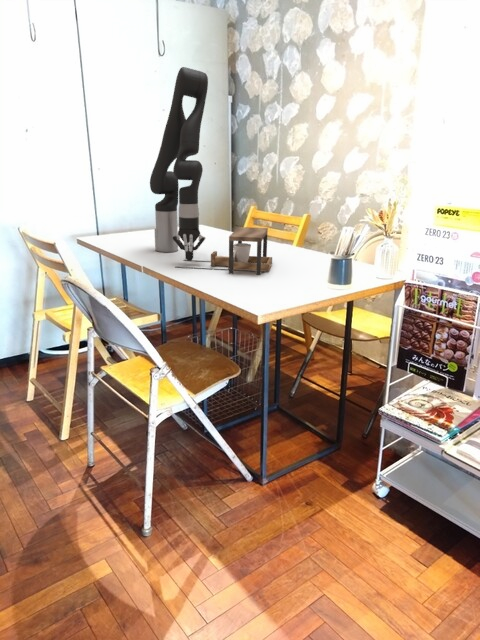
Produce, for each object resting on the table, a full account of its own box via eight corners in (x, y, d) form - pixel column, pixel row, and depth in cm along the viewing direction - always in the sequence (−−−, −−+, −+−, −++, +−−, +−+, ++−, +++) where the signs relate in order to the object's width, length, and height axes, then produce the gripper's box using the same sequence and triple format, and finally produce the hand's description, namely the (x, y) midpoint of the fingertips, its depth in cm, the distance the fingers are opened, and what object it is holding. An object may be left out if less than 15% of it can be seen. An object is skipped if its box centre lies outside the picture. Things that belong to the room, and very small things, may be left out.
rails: (175, 267, 189) (174, 267, 189) (183, 260, 201) (183, 259, 201) (264, 272, 184) (264, 271, 184) (267, 264, 196) (267, 264, 196)
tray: (208, 268, 187) (208, 256, 185) (215, 260, 199) (215, 249, 197) (268, 271, 184) (269, 259, 182) (272, 263, 196) (272, 252, 194)
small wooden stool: (228, 273, 182) (229, 236, 177) (238, 260, 202) (238, 226, 198) (260, 275, 180) (261, 237, 176) (266, 261, 201) (267, 228, 196)
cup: (254, 264, 195) (254, 244, 193) (241, 269, 187) (242, 248, 184) (238, 262, 199) (238, 242, 196) (225, 267, 190) (225, 246, 188)
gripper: (169, 216, 186) (170, 261, 192) (204, 217, 184) (204, 263, 190) (174, 213, 193) (175, 257, 199) (207, 214, 191) (208, 259, 197)
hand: (189, 260), depth 194 cm, fingers closed
